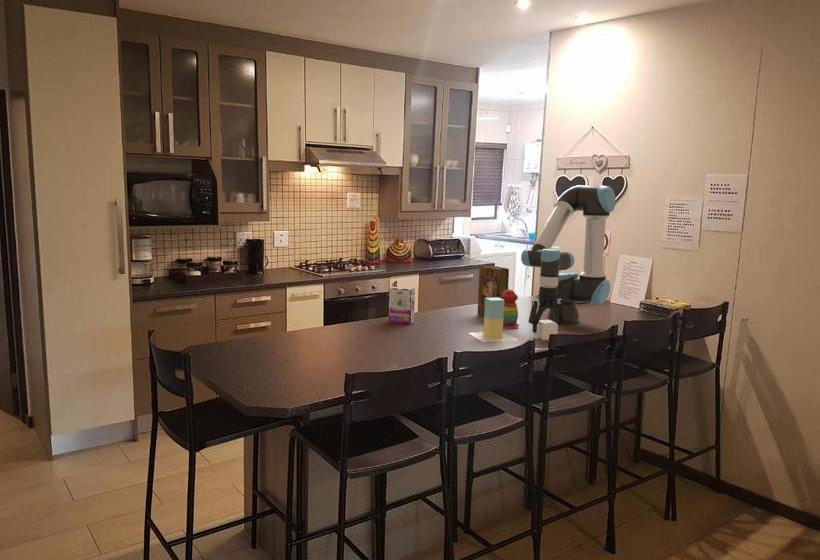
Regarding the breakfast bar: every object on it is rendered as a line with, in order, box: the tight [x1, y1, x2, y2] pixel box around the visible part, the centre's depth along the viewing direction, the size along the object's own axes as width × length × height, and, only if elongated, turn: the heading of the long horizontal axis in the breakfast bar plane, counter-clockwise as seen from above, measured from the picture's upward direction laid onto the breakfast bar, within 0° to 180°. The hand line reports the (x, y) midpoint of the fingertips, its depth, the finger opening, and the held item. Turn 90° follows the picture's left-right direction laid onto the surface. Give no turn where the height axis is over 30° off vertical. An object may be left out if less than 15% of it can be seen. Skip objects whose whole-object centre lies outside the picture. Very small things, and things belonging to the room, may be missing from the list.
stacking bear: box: [501, 288, 520, 330], centre depth 273 cm, size 11×10×18 cm
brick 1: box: [483, 297, 504, 320], centre depth 253 cm, size 6×6×8 cm
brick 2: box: [538, 319, 557, 341], centre depth 254 cm, size 6×6×8 cm
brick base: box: [483, 317, 504, 339], centre depth 254 cm, size 6×6×8 cm
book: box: [476, 264, 510, 318], centre depth 294 cm, size 16×6×25 cm, turn 34°
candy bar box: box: [388, 286, 416, 325], centre depth 280 cm, size 11×5×16 cm, turn 68°
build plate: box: [468, 331, 519, 343], centre depth 255 cm, size 16×16×1 cm
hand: (545, 339), depth 255 cm, fingers open, 8 cm apart
